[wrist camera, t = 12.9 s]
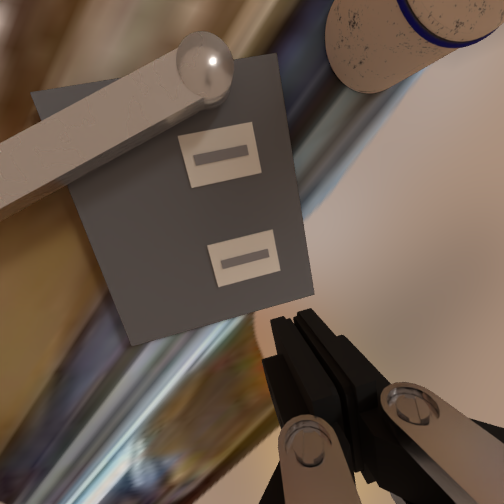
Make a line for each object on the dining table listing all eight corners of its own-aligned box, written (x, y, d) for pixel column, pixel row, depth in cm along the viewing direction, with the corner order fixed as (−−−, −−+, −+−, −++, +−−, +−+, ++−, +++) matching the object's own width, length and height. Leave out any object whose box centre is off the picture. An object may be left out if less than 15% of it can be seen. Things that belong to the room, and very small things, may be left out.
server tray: (271, 62, 21) (278, 48, 19) (308, 288, 26) (317, 296, 24) (43, 99, 19) (23, 89, 17) (136, 337, 24) (129, 350, 22)
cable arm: (214, 44, 18) (215, 14, 15) (238, 95, 19) (245, 77, 16) (-68, 196, 17) (-127, 197, 14) (-26, 241, 18) (-72, 251, 15)
